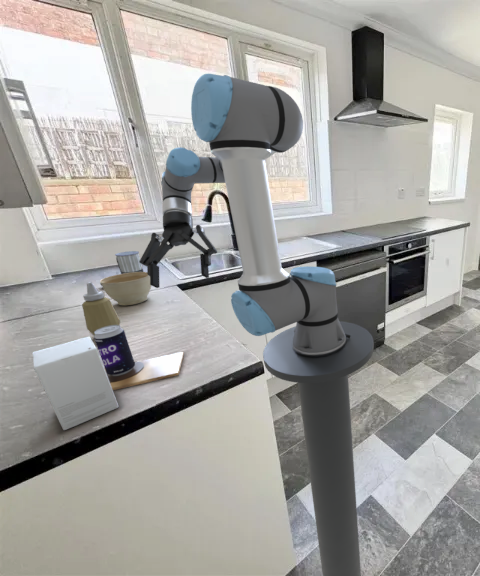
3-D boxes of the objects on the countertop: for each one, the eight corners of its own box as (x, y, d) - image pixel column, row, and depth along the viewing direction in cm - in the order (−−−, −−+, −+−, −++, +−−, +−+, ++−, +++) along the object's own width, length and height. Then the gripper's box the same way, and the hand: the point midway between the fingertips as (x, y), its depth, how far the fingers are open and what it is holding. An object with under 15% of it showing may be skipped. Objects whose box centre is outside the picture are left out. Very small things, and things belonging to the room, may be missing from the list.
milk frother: (151, 279, 158) (143, 251, 153) (122, 289, 143) (113, 258, 138) (127, 278, 160) (118, 250, 155) (96, 288, 145) (86, 258, 140)
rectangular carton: (111, 390, 73) (91, 334, 68) (119, 407, 67) (97, 347, 63) (58, 411, 67) (30, 351, 62) (62, 432, 61) (32, 367, 56)
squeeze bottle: (92, 343, 95) (72, 288, 89) (89, 335, 100) (70, 283, 94) (125, 334, 101) (108, 282, 95) (121, 327, 106) (104, 277, 100)
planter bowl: (158, 302, 127) (151, 277, 124) (107, 312, 118) (98, 285, 114) (155, 292, 139) (149, 269, 136) (109, 301, 130) (101, 276, 126)
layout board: (184, 353, 88) (183, 350, 88) (178, 375, 79) (177, 371, 78) (95, 372, 80) (93, 369, 80) (76, 399, 71) (75, 395, 70)
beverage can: (106, 371, 79) (91, 329, 75) (134, 362, 83) (120, 322, 79) (109, 380, 75) (92, 337, 71) (137, 370, 79) (123, 328, 75)
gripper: (225, 216, 98) (231, 276, 92) (142, 230, 95) (142, 294, 89) (214, 202, 91) (219, 267, 85) (124, 217, 88) (123, 286, 82)
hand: (180, 281), depth 87 cm, fingers open, 13 cm apart
